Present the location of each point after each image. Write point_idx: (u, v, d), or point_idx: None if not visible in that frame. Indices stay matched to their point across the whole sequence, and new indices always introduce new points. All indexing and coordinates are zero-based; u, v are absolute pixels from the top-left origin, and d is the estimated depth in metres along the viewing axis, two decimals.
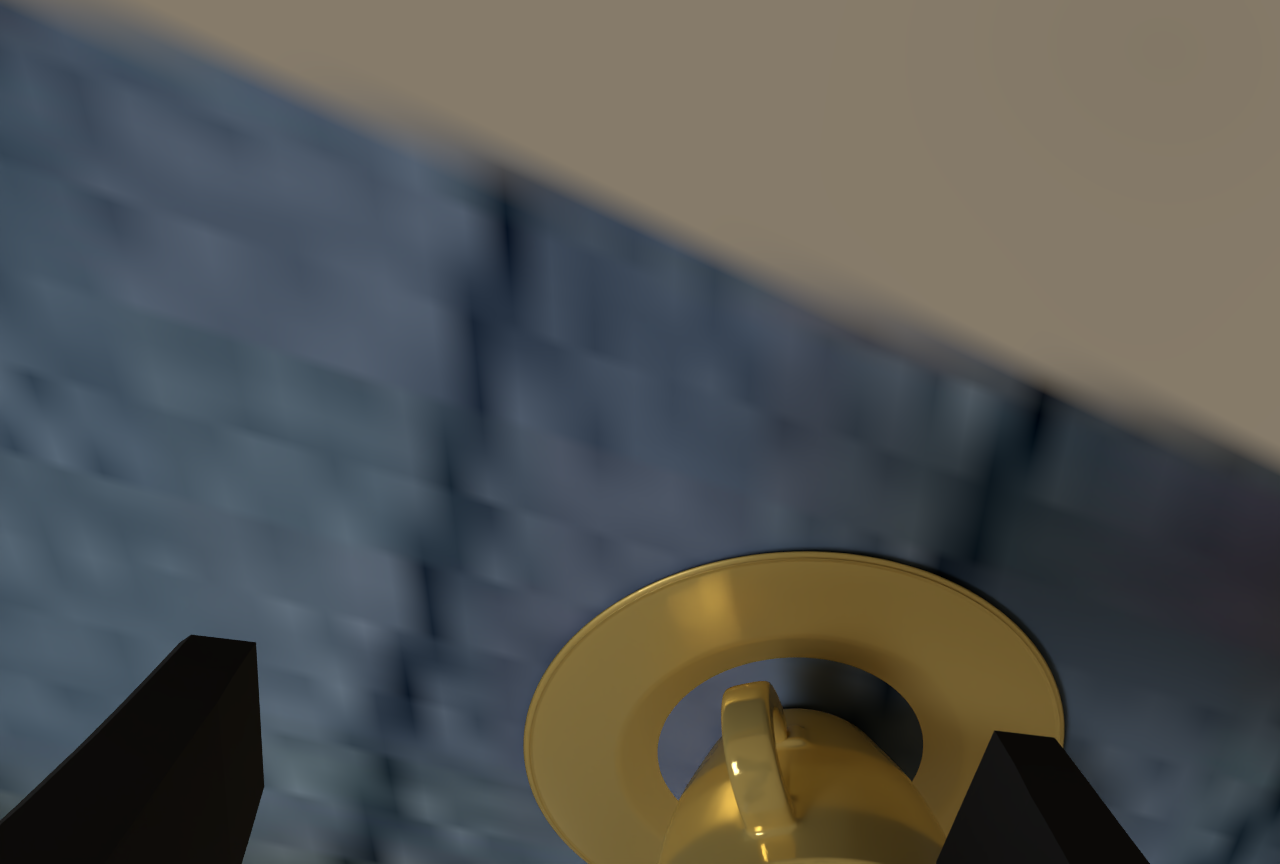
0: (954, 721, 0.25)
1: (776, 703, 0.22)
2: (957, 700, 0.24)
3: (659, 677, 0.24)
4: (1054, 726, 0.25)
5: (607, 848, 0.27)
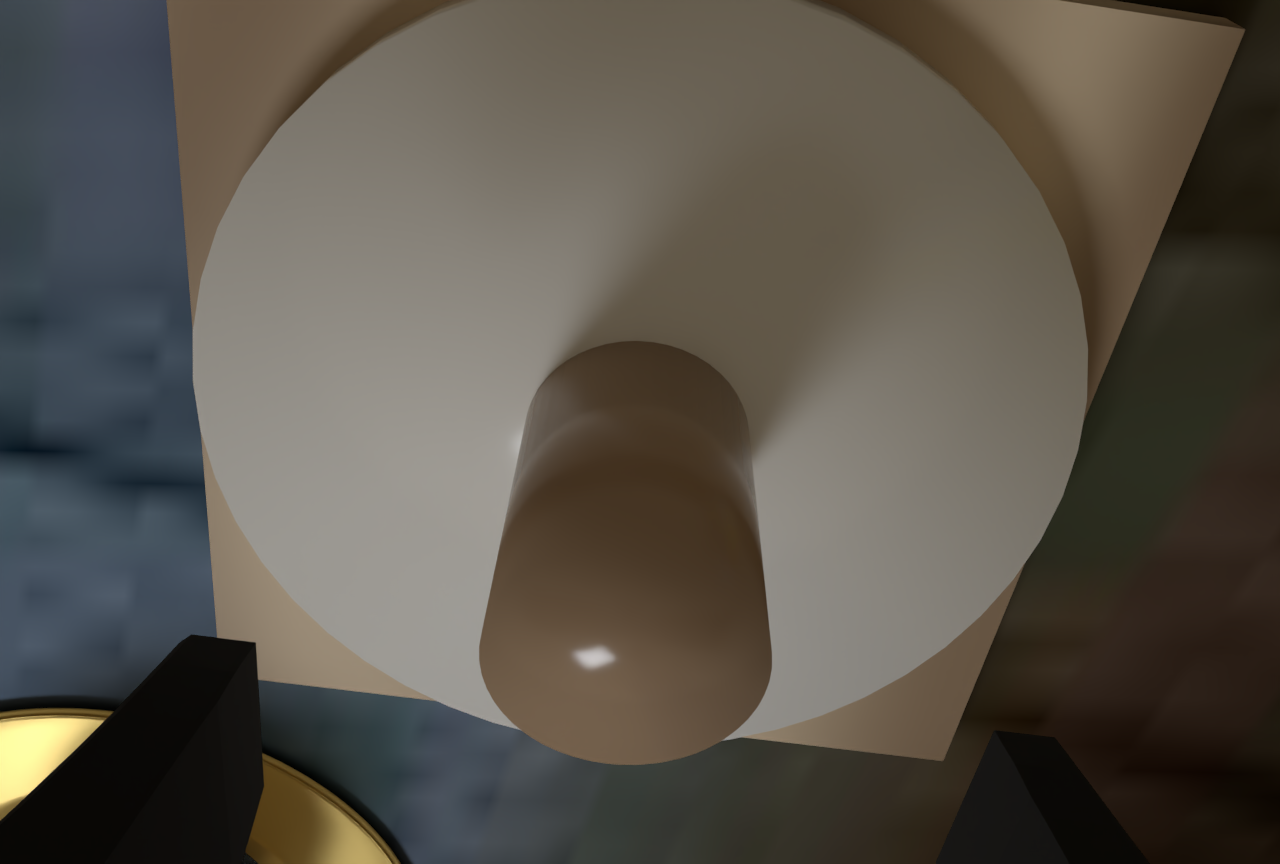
0: None
1: None
2: None
3: None
4: (2, 723, 0.21)
5: None
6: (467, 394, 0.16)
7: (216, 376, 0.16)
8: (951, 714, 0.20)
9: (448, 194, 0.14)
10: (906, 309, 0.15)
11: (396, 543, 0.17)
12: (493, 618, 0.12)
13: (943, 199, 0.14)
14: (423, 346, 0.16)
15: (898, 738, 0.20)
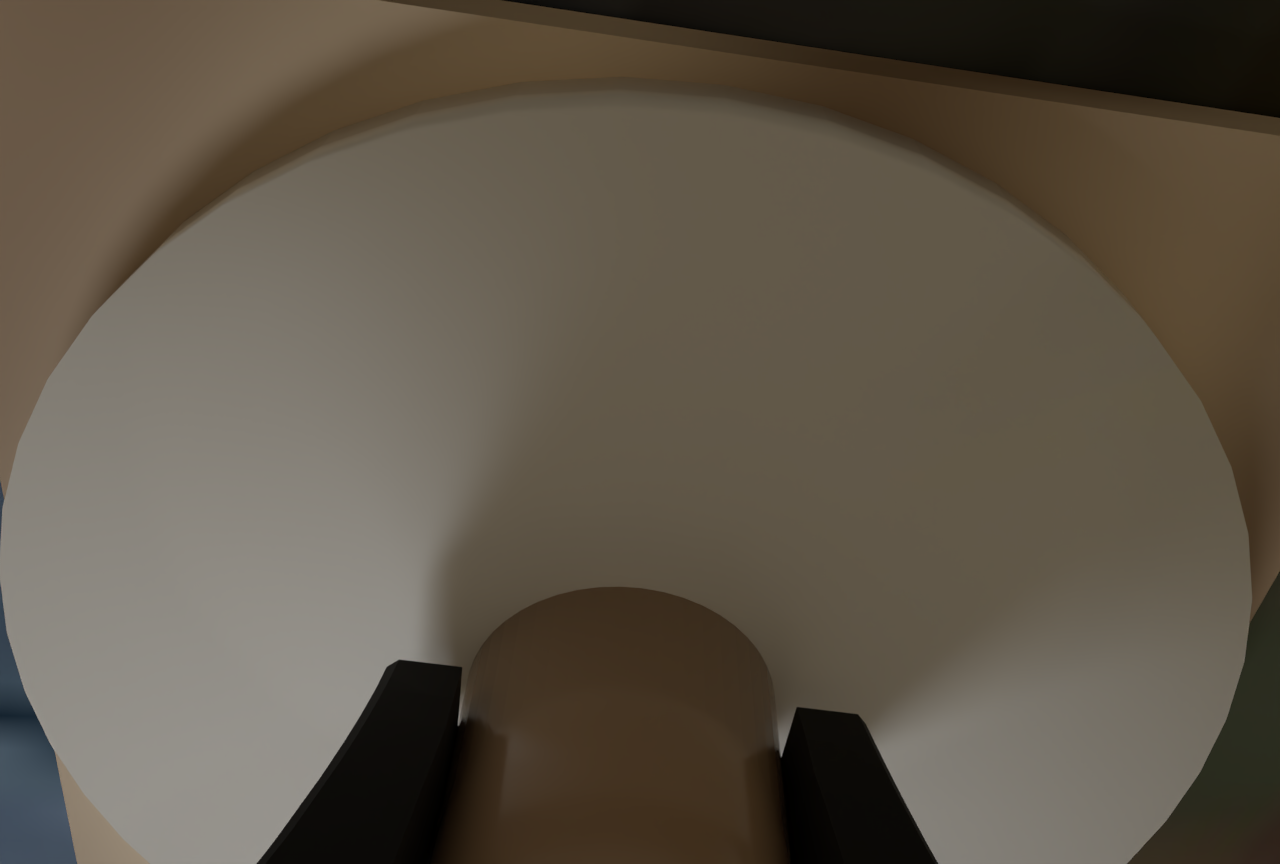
0: None
1: None
2: None
3: None
4: None
5: None
6: (385, 649, 0.12)
7: (37, 626, 0.11)
8: None
9: (343, 401, 0.10)
10: (999, 548, 0.11)
11: None
12: None
13: (1060, 412, 0.10)
14: (321, 592, 0.11)
15: None
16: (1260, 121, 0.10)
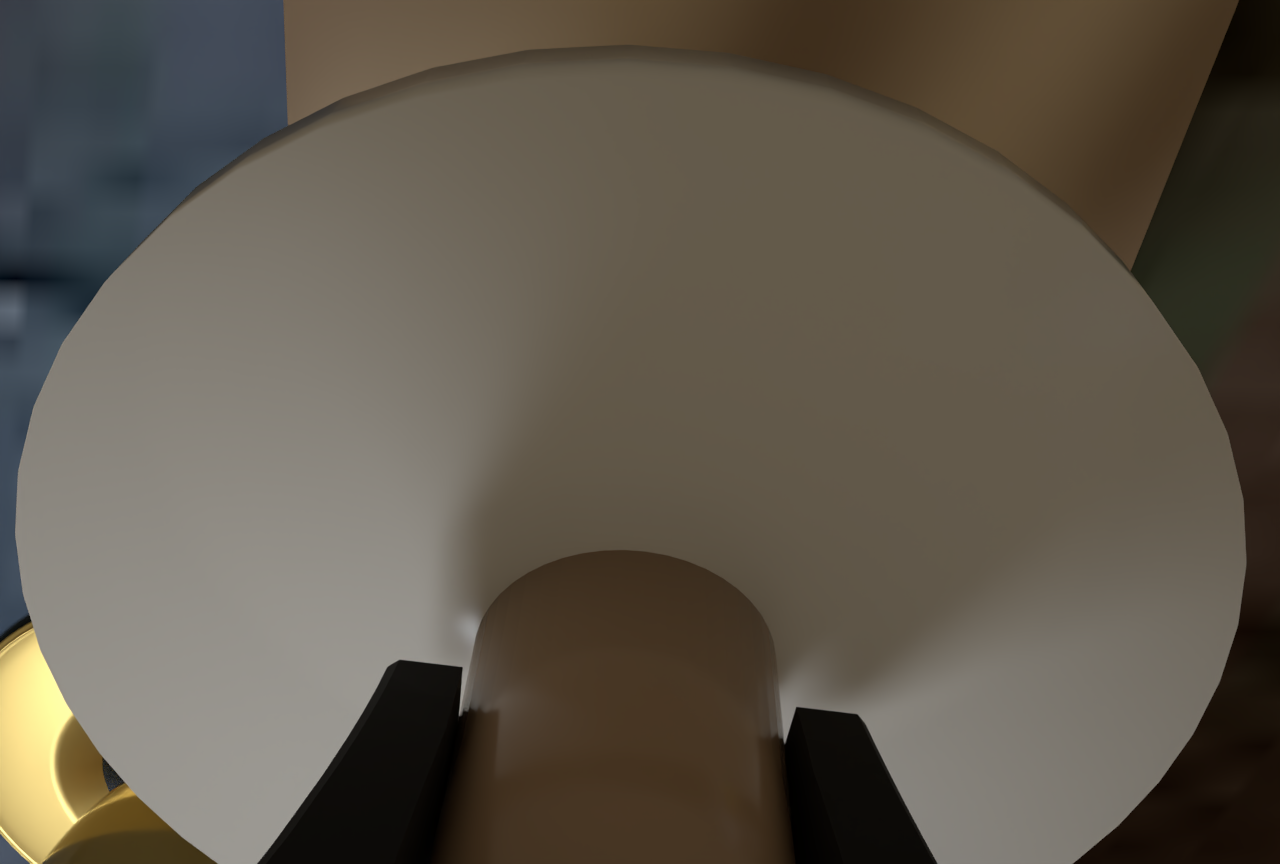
0: None
1: None
2: None
3: None
4: None
5: None
6: (392, 610, 0.12)
7: (53, 589, 0.12)
8: None
9: (354, 367, 0.10)
10: (996, 513, 0.11)
11: (311, 777, 0.13)
12: None
13: (1059, 378, 0.10)
14: (331, 554, 0.11)
15: None
16: None
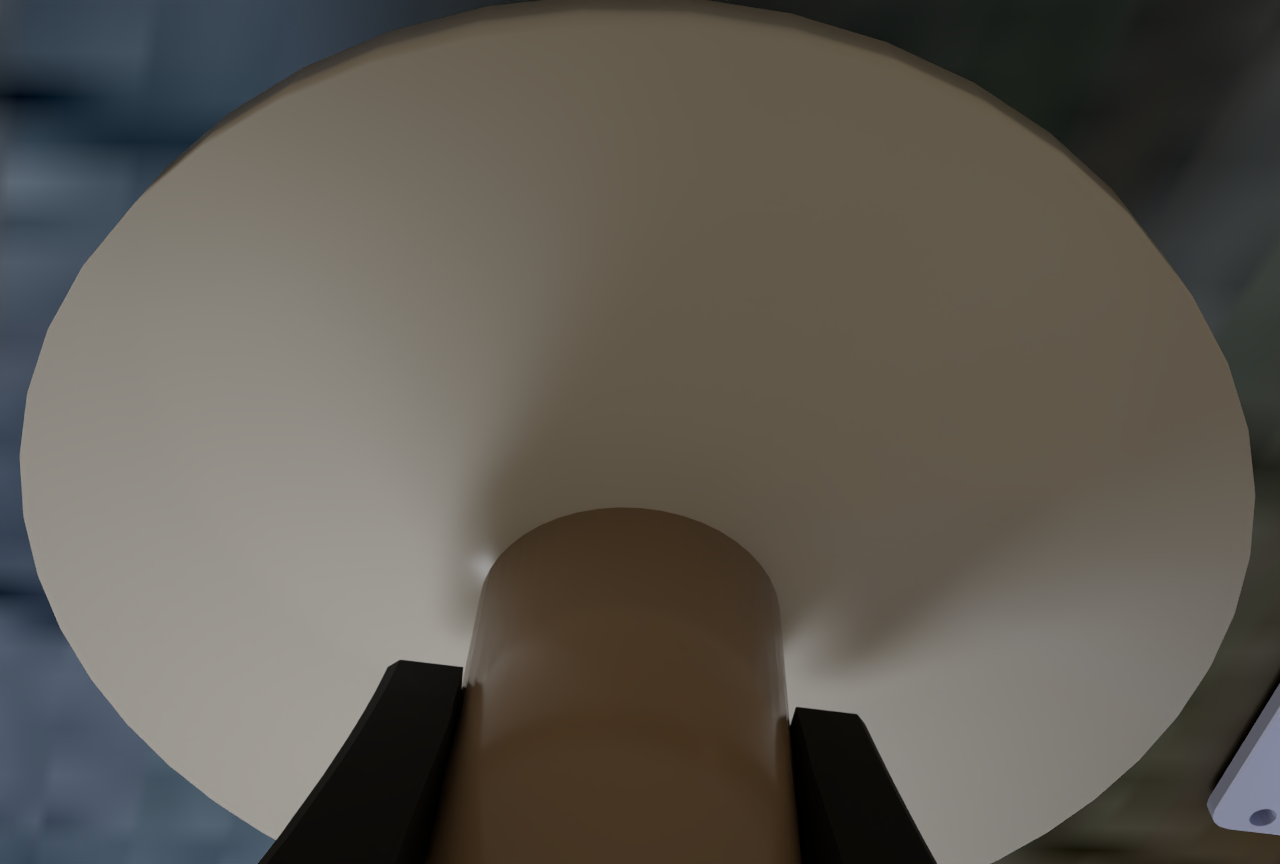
0: None
1: None
2: None
3: None
4: None
5: None
6: (402, 555, 0.12)
7: (54, 512, 0.11)
8: None
9: (383, 308, 0.10)
10: (1013, 493, 0.11)
11: (304, 714, 0.13)
12: None
13: (1090, 364, 0.10)
14: (344, 495, 0.11)
15: None
16: None
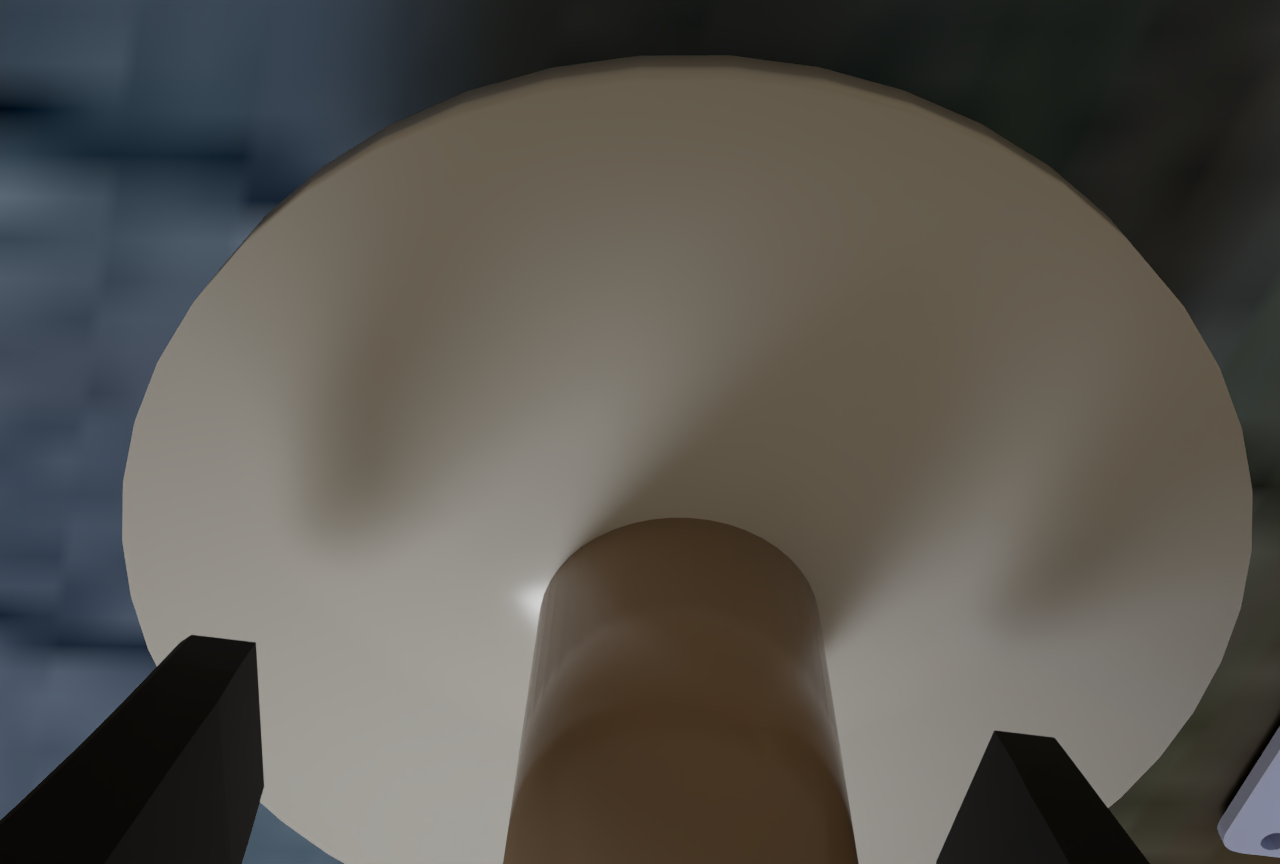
0: None
1: None
2: None
3: None
4: None
5: None
6: (469, 569, 0.13)
7: (152, 535, 0.13)
8: None
9: (459, 336, 0.11)
10: (1031, 496, 0.12)
11: (372, 728, 0.14)
12: None
13: (1097, 372, 0.11)
14: (418, 512, 0.12)
15: None
16: None
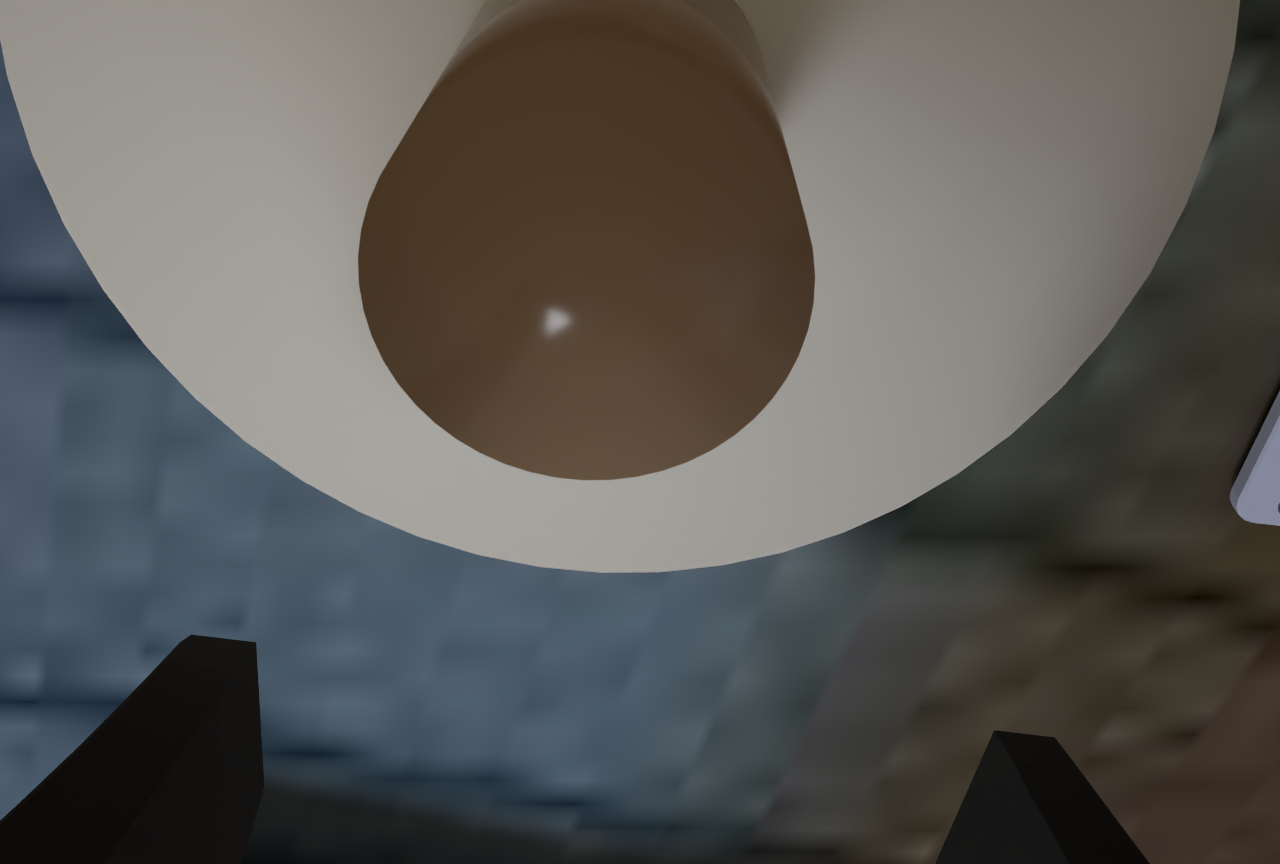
0: None
1: None
2: None
3: None
4: None
5: None
6: (377, 23, 0.11)
7: None
8: None
9: None
10: None
11: (284, 262, 0.13)
12: (378, 202, 0.08)
13: None
14: None
15: None
16: None
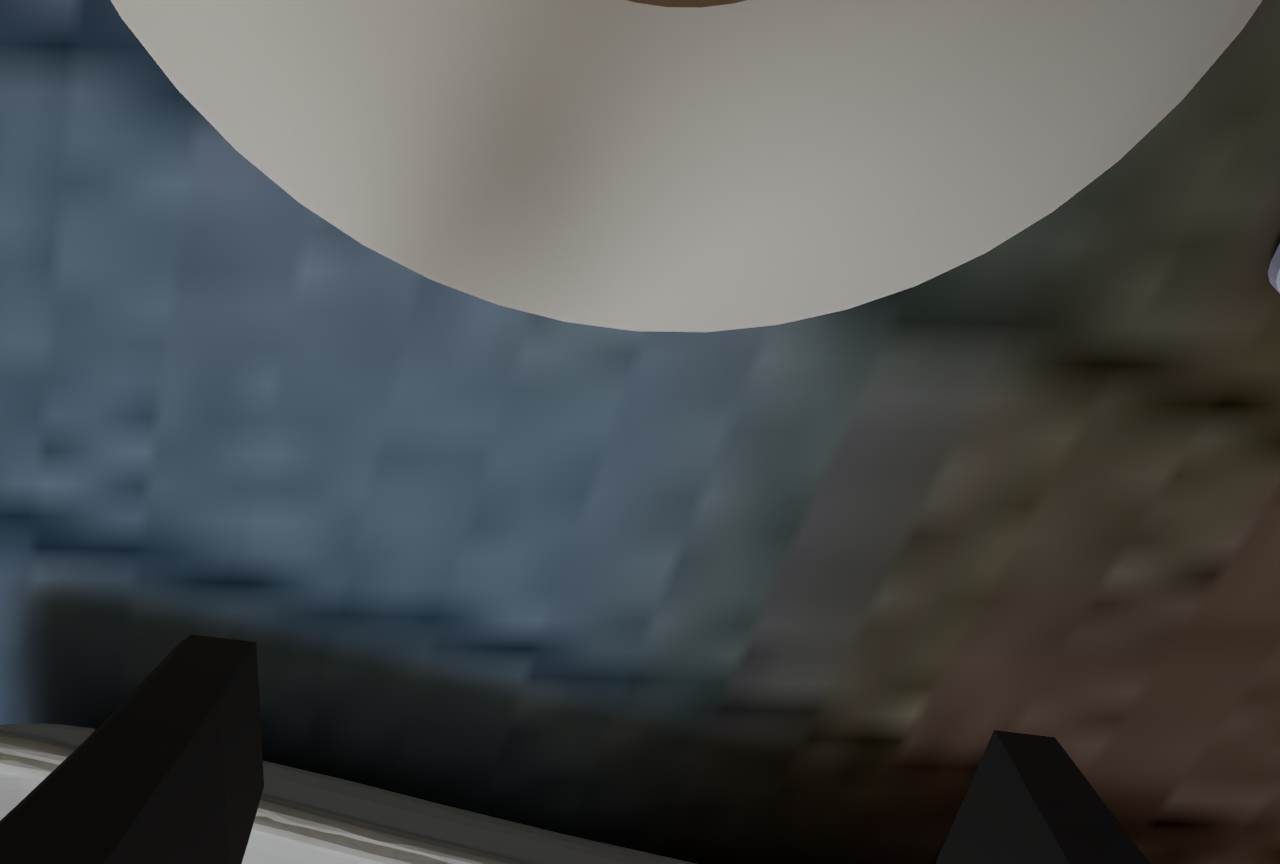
0: None
1: None
2: None
3: None
4: None
5: None
6: None
7: None
8: None
9: None
10: None
11: None
12: None
13: None
14: None
15: None
16: None
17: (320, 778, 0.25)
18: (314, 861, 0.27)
